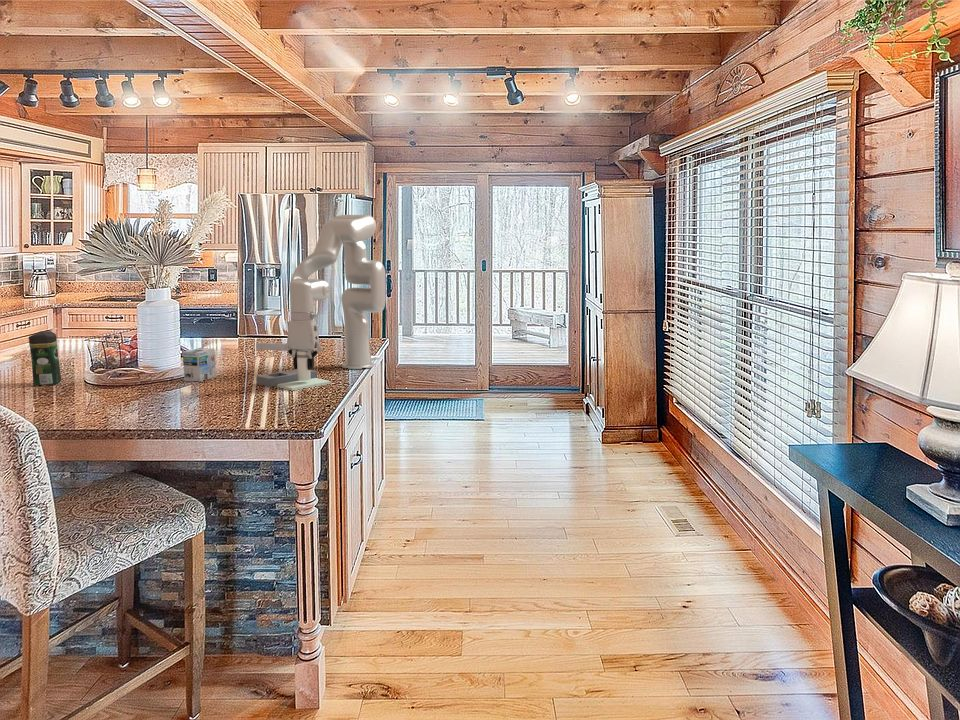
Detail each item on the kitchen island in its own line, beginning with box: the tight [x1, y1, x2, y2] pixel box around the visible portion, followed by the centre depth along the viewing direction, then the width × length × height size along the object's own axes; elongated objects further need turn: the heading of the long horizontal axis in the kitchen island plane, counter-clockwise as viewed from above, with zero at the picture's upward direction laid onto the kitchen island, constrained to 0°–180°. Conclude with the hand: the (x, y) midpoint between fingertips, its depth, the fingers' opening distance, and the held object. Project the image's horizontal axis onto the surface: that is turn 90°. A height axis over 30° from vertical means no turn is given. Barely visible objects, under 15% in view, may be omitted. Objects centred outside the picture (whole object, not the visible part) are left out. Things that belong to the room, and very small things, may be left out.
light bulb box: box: [182, 347, 217, 383], centre depth 262 cm, size 11×7×11 cm, turn 168°
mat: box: [276, 377, 332, 392], centre depth 252 cm, size 16×9×1 cm, turn 138°
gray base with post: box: [255, 369, 318, 388], centre depth 258 cm, size 20×8×10 cm, turn 138°
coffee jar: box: [28, 330, 62, 386], centre depth 251 cm, size 10×8×19 cm
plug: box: [297, 350, 311, 381], centre depth 251 cm, size 4×4×10 cm
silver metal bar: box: [255, 342, 287, 352], centre depth 264 cm, size 19×3×2 cm, turn 79°
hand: (303, 368), depth 251 cm, fingers closed on plug, 4 cm apart
